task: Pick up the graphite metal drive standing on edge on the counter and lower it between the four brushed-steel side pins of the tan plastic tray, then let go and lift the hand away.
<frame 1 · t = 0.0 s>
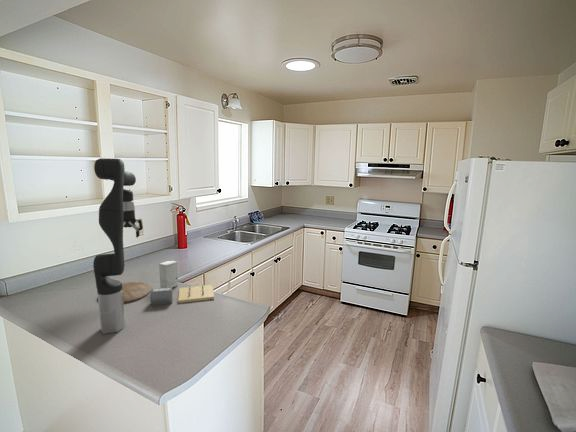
hand: (129, 237, 169), 29 cm above the counter, fingers open, 8 cm apart
trivet: (126, 294, 165), on the counter
skincare box: (169, 287, 175), on the counter
pin tray: (196, 294, 165), on the counter
drive: (162, 302, 156), on the counter
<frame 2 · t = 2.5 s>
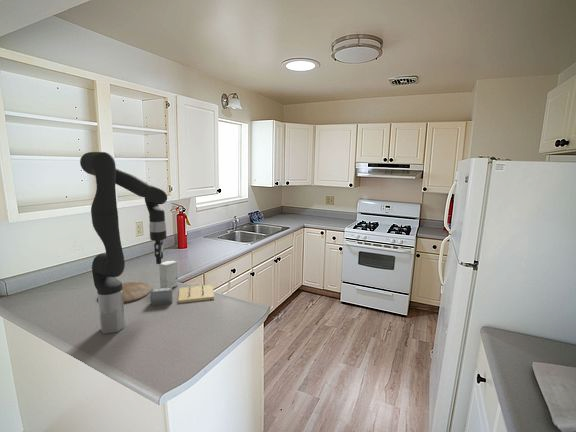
hand: (159, 261, 152), 22 cm above the counter, fingers open, 8 cm apart
nothing on the counter moved.
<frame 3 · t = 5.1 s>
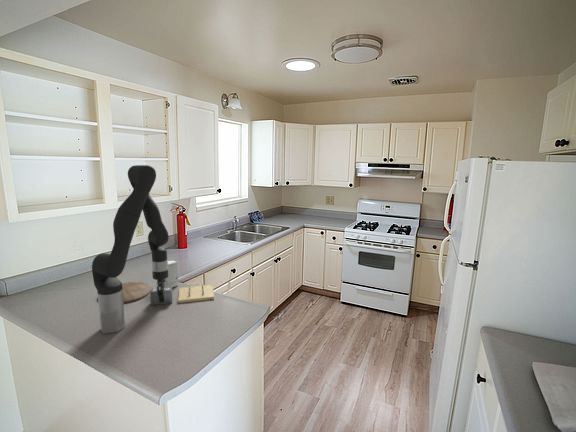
hand: (162, 300, 155), 1 cm above the counter, fingers closed on drive, 4 cm apart
drive: (162, 302, 156), on the counter, touching gripper
everything else where it was.
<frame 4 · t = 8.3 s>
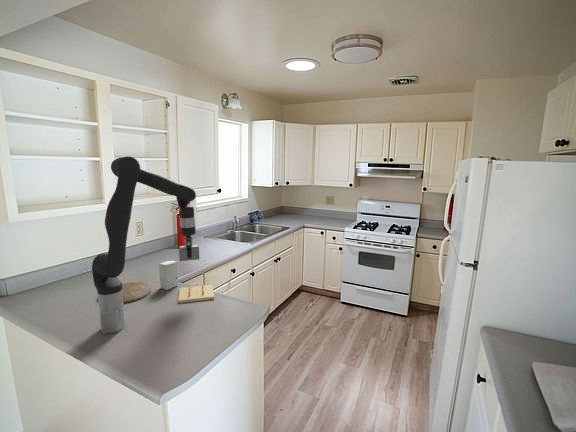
hand: (189, 256, 160), 22 cm above the counter, fingers closed on drive, 4 cm apart
drive: (189, 259, 161), point 21 cm above the counter, touching gripper
everything else where it was.
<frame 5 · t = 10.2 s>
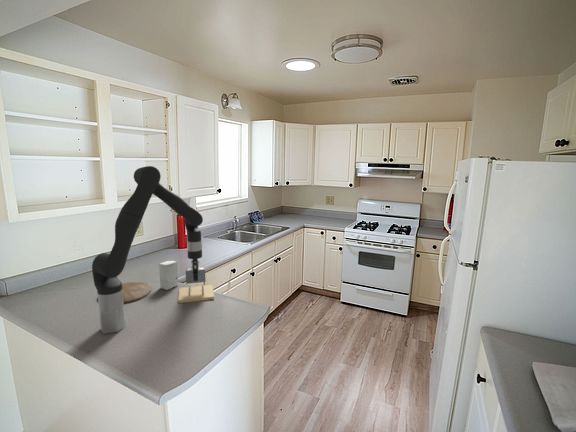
hand: (195, 279, 164), 9 cm above the counter, fingers closed on drive, 4 cm apart
drive: (195, 281, 164), point 8 cm above the counter, touching gripper
everything else where it was.
when the fingers open (4 cm above the counter, at t = 11.7 s): drive stays where it is, resting on pin tray.
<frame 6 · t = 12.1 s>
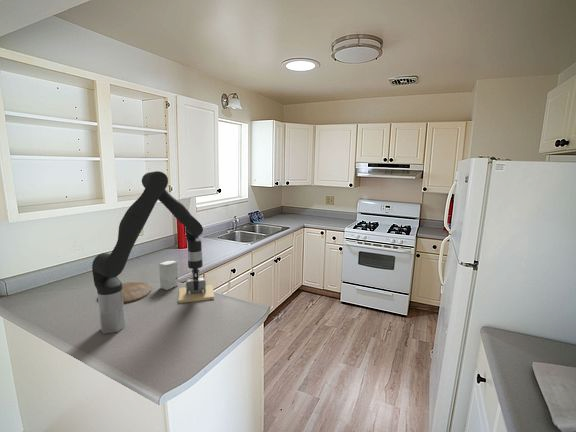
hand: (196, 287, 165), 4 cm above the counter, fingers open, 7 cm apart
drive: (196, 292, 165), point 1 cm above the counter, touching pin tray
everything else where it was.
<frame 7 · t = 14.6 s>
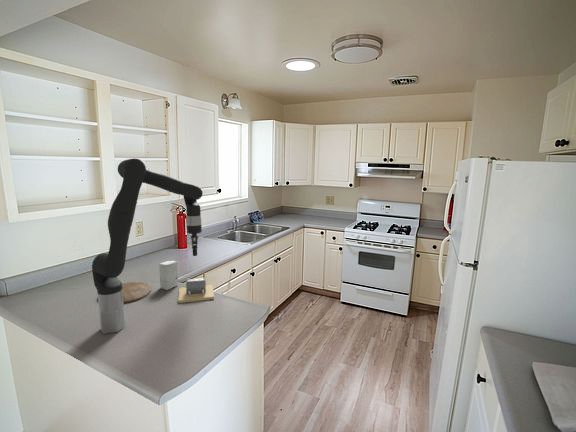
hand: (195, 253, 161), 24 cm above the counter, fingers open, 8 cm apart
nothing on the counter moved.
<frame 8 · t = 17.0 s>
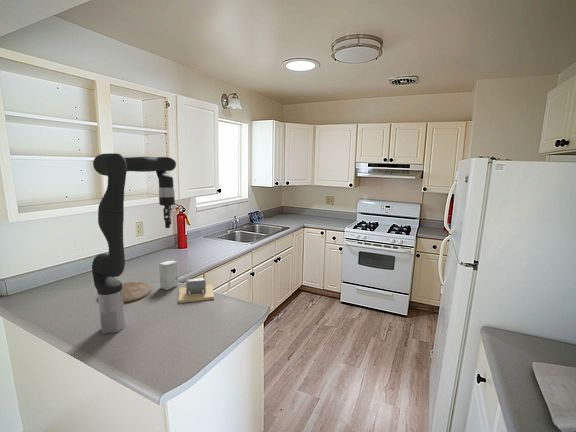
hand: (168, 226, 159), 38 cm above the counter, fingers open, 8 cm apart
nothing on the counter moved.
at the end: drive 0.1 cm off-centre on the pin tray, point 1.5 cm above the pin tray's base; drive tilted 0°; the gripper is holding nothing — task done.
